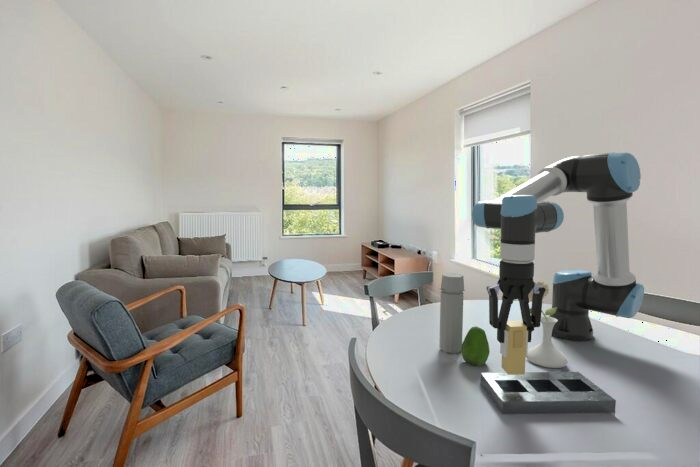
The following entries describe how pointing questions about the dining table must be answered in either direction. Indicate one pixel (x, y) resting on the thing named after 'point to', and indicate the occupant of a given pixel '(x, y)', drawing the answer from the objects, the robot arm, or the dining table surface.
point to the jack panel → (546, 393)
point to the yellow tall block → (515, 349)
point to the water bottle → (451, 312)
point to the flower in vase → (546, 340)
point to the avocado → (475, 347)
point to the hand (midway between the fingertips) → (513, 354)
